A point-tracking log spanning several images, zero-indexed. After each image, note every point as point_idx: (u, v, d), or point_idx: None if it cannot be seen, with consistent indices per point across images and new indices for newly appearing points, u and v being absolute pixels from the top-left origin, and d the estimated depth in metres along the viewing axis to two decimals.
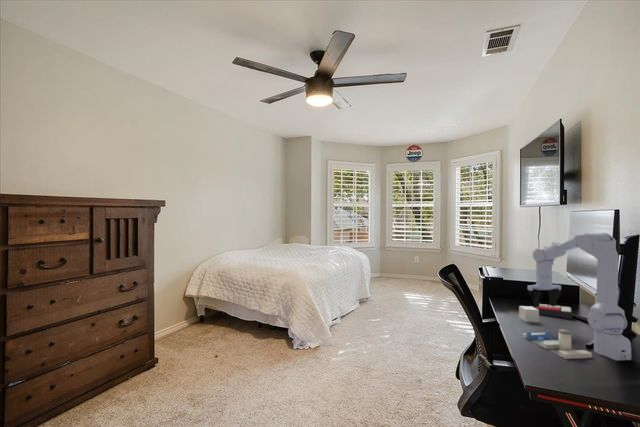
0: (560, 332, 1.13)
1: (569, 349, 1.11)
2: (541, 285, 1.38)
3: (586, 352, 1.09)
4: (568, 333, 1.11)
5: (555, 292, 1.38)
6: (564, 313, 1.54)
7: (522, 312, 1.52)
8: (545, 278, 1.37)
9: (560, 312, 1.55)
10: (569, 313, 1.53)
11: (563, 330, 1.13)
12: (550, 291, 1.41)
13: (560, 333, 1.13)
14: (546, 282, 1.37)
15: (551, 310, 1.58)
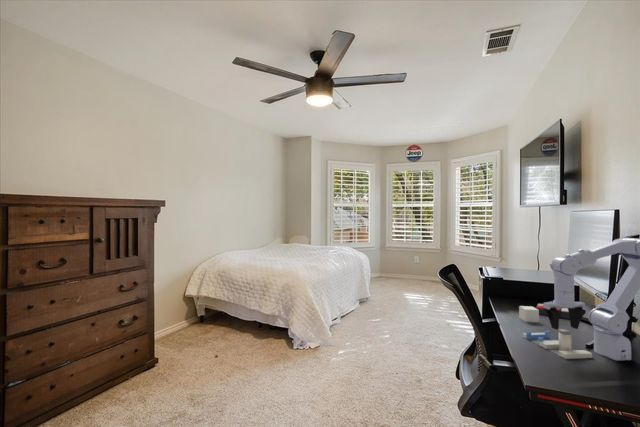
0: (560, 332, 1.13)
1: (569, 349, 1.11)
2: (560, 302, 1.12)
3: (586, 352, 1.09)
4: (568, 333, 1.11)
5: (578, 311, 1.12)
6: (564, 313, 1.54)
7: (522, 312, 1.52)
8: (566, 294, 1.11)
9: None
10: None
11: (563, 330, 1.13)
12: (571, 310, 1.14)
13: (560, 333, 1.13)
14: (567, 299, 1.11)
15: None
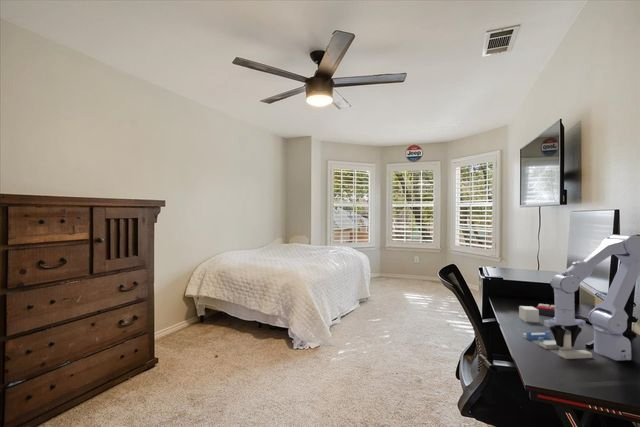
0: None
1: (569, 349, 1.11)
2: (560, 320, 1.12)
3: (586, 352, 1.09)
4: (568, 333, 1.11)
5: (574, 329, 1.11)
6: None
7: (522, 312, 1.52)
8: (566, 312, 1.11)
9: None
10: None
11: None
12: (567, 327, 1.14)
13: None
14: (567, 317, 1.11)
15: (551, 310, 1.58)
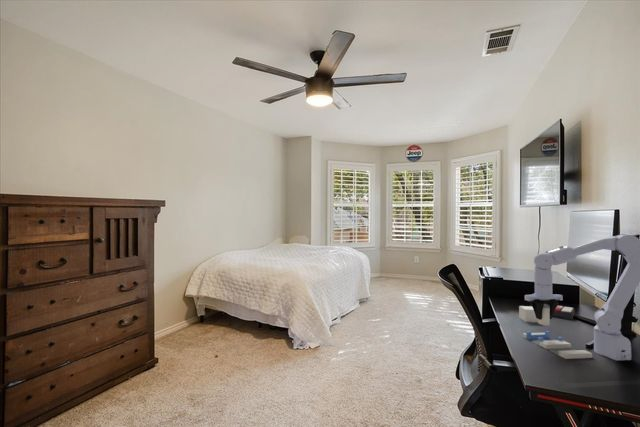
0: None
1: (547, 321, 1.21)
2: (539, 295, 1.21)
3: (586, 352, 1.09)
4: (547, 307, 1.21)
5: (552, 303, 1.21)
6: (564, 313, 1.54)
7: (522, 312, 1.52)
8: (544, 287, 1.20)
9: (560, 312, 1.56)
10: (569, 313, 1.53)
11: None
12: (546, 302, 1.24)
13: None
14: (546, 291, 1.20)
15: None
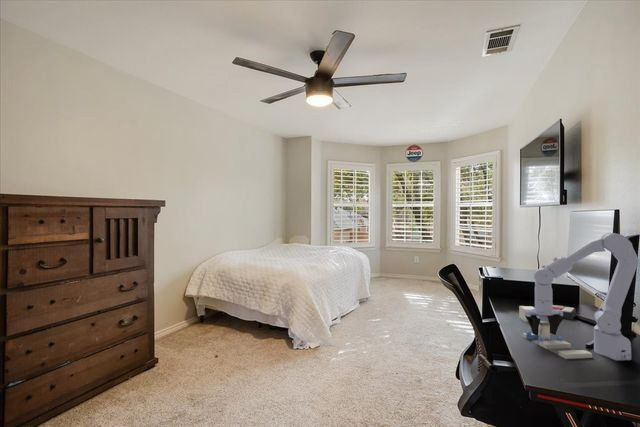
0: (539, 323, 1.22)
1: (547, 339, 1.21)
2: (540, 310, 1.21)
3: (586, 352, 1.09)
4: (547, 324, 1.21)
5: (556, 318, 1.21)
6: (564, 313, 1.54)
7: (522, 312, 1.52)
8: (545, 303, 1.20)
9: None
10: (569, 313, 1.53)
11: (542, 322, 1.23)
12: (550, 317, 1.24)
13: (540, 324, 1.22)
14: (546, 307, 1.20)
15: None
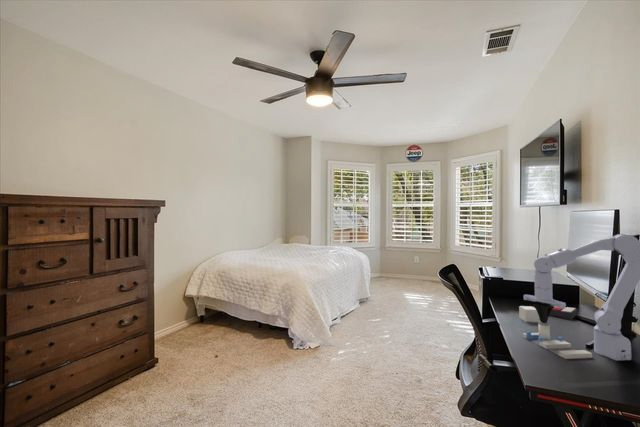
0: (540, 323, 1.22)
1: (548, 339, 1.21)
2: (534, 296, 1.25)
3: (586, 352, 1.09)
4: (547, 324, 1.21)
5: None
6: (564, 313, 1.54)
7: (522, 312, 1.52)
8: (535, 289, 1.23)
9: (560, 312, 1.56)
10: (568, 313, 1.53)
11: None
12: None
13: (540, 324, 1.22)
14: (536, 293, 1.23)
15: None
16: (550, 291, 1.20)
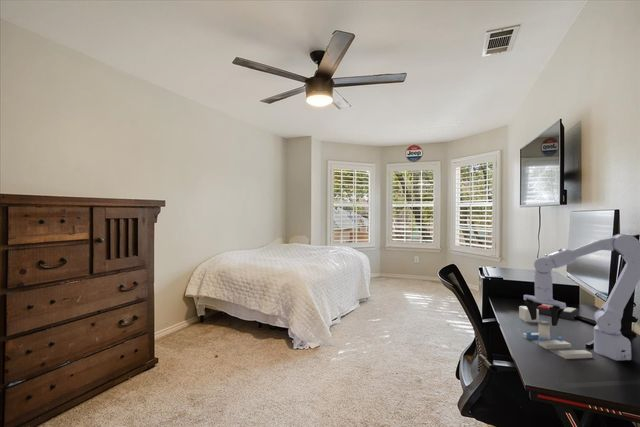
0: (539, 323, 1.22)
1: (547, 339, 1.21)
2: (534, 296, 1.25)
3: (586, 352, 1.09)
4: (547, 324, 1.21)
5: None
6: (563, 313, 1.55)
7: (522, 312, 1.52)
8: (535, 289, 1.23)
9: None
10: (568, 313, 1.53)
11: (542, 322, 1.23)
12: None
13: (540, 324, 1.22)
14: (536, 293, 1.23)
15: None
16: (550, 291, 1.20)
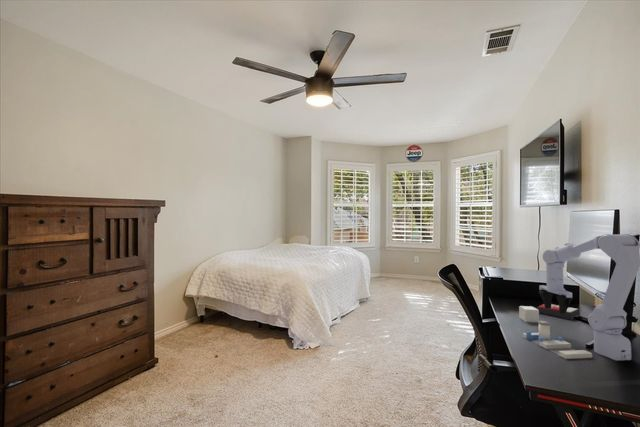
0: (540, 323, 1.22)
1: (548, 339, 1.21)
2: None
3: (586, 352, 1.09)
4: (547, 324, 1.21)
5: None
6: None
7: (522, 312, 1.52)
8: (546, 279, 1.33)
9: None
10: (568, 313, 1.53)
11: (543, 322, 1.23)
12: None
13: (540, 324, 1.22)
14: None
15: (551, 309, 1.59)
16: (559, 281, 1.29)
